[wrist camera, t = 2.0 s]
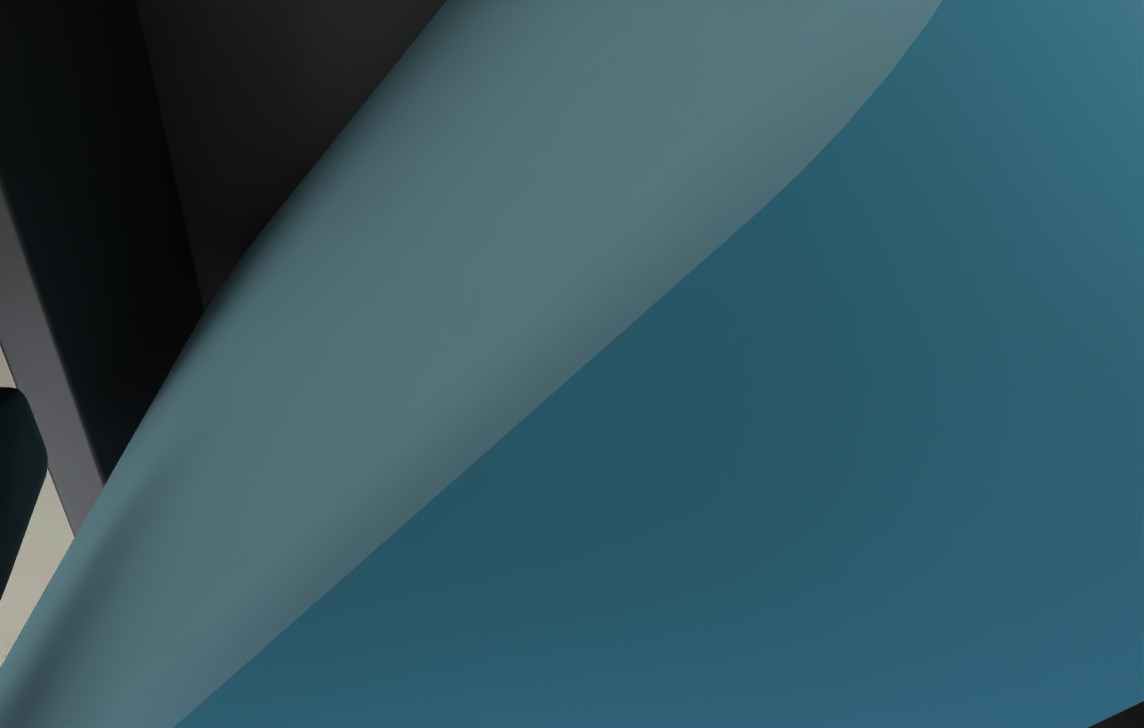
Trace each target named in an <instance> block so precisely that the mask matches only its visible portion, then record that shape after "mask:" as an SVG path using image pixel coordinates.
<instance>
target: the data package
mask: <svg viewBox="0 0 1144 728" xmlns="http://www.w3.org/2000/svg"><path fill="white" fill-rule="evenodd" d="M1143 701H1144V0H447V1H446V2H445V3H444V4H443V6H442V7H441V8H440V9H439V10H438V12H437V13H436V14H435V15H434V17H433V18H432V19H431V20H430V22H429V23H428V24H427V25H426V27H425V28H424V29H423V30H422V32H421V33H420V34H419V35H418V37H417V38H416V39H415V40H414V42H413V43H412V44H411V45H410V47H409V48H408V49H407V50H406V52H405V53H404V54H403V55H402V57H401V58H400V59H399V60H398V62H397V63H396V64H395V65H394V67H393V68H392V69H391V70H390V71H389V73H388V74H387V75H386V76H385V78H384V79H383V80H382V81H381V83H380V84H379V85H378V86H377V88H376V89H375V90H374V91H373V93H372V94H371V95H370V96H369V98H368V99H367V100H366V101H365V103H364V104H363V105H362V106H361V108H360V109H359V110H358V111H357V113H356V114H355V115H354V116H353V118H352V119H351V120H350V121H349V123H348V124H347V125H346V126H345V128H344V129H343V130H342V131H341V132H340V134H339V135H338V136H337V137H336V139H335V140H334V141H333V142H332V144H331V145H330V146H329V147H328V149H327V150H326V151H325V152H324V154H323V155H322V156H321V157H320V159H319V160H318V161H317V162H316V164H315V165H314V166H313V167H312V169H311V170H310V171H309V172H308V174H307V175H306V176H305V177H304V179H303V180H302V181H301V182H300V184H299V185H298V186H297V187H296V189H295V190H294V191H293V192H292V193H291V195H290V196H289V197H288V198H287V200H286V201H285V202H284V203H283V205H282V206H281V207H280V208H279V210H278V211H277V212H276V213H275V215H274V216H273V217H272V218H271V220H270V221H269V222H268V223H267V225H266V226H265V227H264V228H263V230H262V231H261V232H260V233H259V235H258V236H257V237H256V239H255V240H254V241H253V242H252V244H251V245H250V246H249V248H248V249H247V250H246V252H245V253H244V254H243V256H242V257H241V259H240V260H239V261H238V263H237V264H236V265H235V267H234V268H233V270H232V271H231V272H230V274H229V275H228V277H227V278H226V280H225V281H224V282H223V284H222V285H221V287H220V288H219V290H218V291H217V293H216V294H215V296H214V297H213V299H212V300H211V302H210V303H209V305H208V307H207V308H206V310H205V311H204V313H203V315H202V316H201V318H200V320H199V321H198V323H197V325H196V327H195V328H194V330H193V332H192V334H191V335H190V337H189V339H188V341H187V342H186V344H185V346H184V348H183V349H182V351H181V353H180V355H179V356H178V358H177V360H176V362H175V363H174V365H173V367H172V369H171V370H170V372H169V374H168V376H167V377H166V379H165V381H164V383H163V384H162V386H161V388H160V390H159V391H158V393H157V395H156V397H155V398H154V400H153V402H152V404H151V405H150V407H149V409H148V411H147V412H146V414H145V416H144V418H143V419H142V421H141V423H140V425H139V426H138V428H137V430H136V432H135V433H134V435H133V437H132V439H131V440H130V442H129V444H128V446H127V447H126V449H125V451H124V453H123V454H122V456H121V458H120V460H119V461H118V463H117V465H116V467H115V468H114V470H113V472H112V474H111V475H110V477H109V479H108V481H107V482H106V484H105V486H104V488H103V489H102V491H101V493H100V495H99V496H98V498H97V500H96V502H95V503H94V505H93V507H92V509H91V510H90V512H89V514H88V516H87V517H86V519H85V521H84V523H83V524H82V526H81V528H80V530H79V531H78V533H77V535H76V537H75V538H74V540H73V542H72V544H71V545H70V547H69V549H68V551H67V552H66V554H65V556H64V558H63V559H62V561H61V563H60V565H59V566H58V568H57V570H56V572H55V573H54V575H53V577H52V579H51V580H50V582H49V584H48V586H47V587H46V589H45V591H44V593H43V594H42V596H41V598H40V600H39V601H38V603H37V605H36V607H35V608H34V610H33V612H32V614H31V615H30V617H29V619H28V621H27V622H26V624H25V626H24V628H23V629H22V631H21V633H20V635H19V636H18V638H17V640H16V642H15V643H14V645H13V647H12V649H11V650H10V652H9V654H8V656H7V657H6V659H5V661H4V663H3V664H2V666H1V668H0V728H1088V727H1090V726H1092V725H1094V724H1096V723H1099V722H1101V721H1103V720H1105V719H1107V718H1109V717H1111V716H1113V715H1115V714H1118V713H1120V712H1122V711H1124V710H1126V709H1128V708H1130V707H1132V706H1134V705H1136V704H1139V703H1141V702H1143Z"/></svg>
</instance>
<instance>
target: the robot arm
mask: <svg viewBox="0 0 1144 728" xmlns="http://www.w3.org/2000/svg"><path fill="white" fill-rule="evenodd" d="M47 467H48V456H47V450H46V447H45V444H44V441H43V439H42V436H41V434H40V431H39V428H38V426H37V423H36V420H35V418H34V415H33V413H32V410H31V407H30V405H29V402H28V400H27V398H26V396H25V395H24V394H23V393H22V392H21V391H20V390H18V389H15V388H10V387H0V600H1V598H2V595H3V593H4V590H5V588H6V585H7V582H8V580H9V577H10V574H11V571H12V568H13V566H14V563H15V560H16V557H17V554H18V552H19V549H20V546H21V543H22V541H23V538H24V535H25V532H26V529H27V527H28V524H29V521H30V518H31V515H32V513H33V510H34V507H35V504H36V502H37V499H38V496H39V493H40V490H41V488H42V485H43V482H44V479H45V476H46V473H47ZM1088 728H1144V701H1143V702H1141V703H1139V704H1136V705H1134V706H1132V707H1130V708H1128V709H1126V710H1124V711H1122V712H1120V713H1118V714H1115V715H1113V716H1111V717H1109V718H1107V719H1105V720H1103V721H1101V722H1099V723H1096V724H1094V725H1092V726H1090V727H1088Z"/></svg>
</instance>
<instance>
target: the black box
mask: <svg viewBox="0 0 1144 728" xmlns="http://www.w3.org/2000/svg"><path fill="white" fill-rule="evenodd" d="M446 1H447V0H0V345H1V348H2V351H3V353H4V356H5V358H6V361H7V364H8V366H9V369H10V371H11V374H12V376H13V379H14V382H15V384H16V387H17V389H18V390H20V391H21V392H22V393H23V394H24V395H25V396H26V398H27V400H28V402H29V405H30V407H31V410H32V413H33V415H34V418H35V420H36V423H37V426H38V428H39V431H40V434H41V436H42V439H43V441H44V444H45V447H46V450H47V456H48V470H49V472H50V475H51V477H52V480H53V483H54V485H55V488H56V490H57V493H58V495H59V498H60V501H61V503H62V506H63V508H64V511H65V514H66V516H67V519H68V521H69V524H70V527H71V529H72V532H73V534H74V537H76V535H77V533H78V531H79V530H80V528H81V526H82V524H83V523H84V521H85V519H86V517H87V516H88V514H89V512H90V510H91V509H92V507H93V505H94V503H95V502H96V500H97V498H98V496H99V495H100V493H101V491H102V489H103V488H104V486H105V484H106V482H107V481H108V479H109V477H110V475H111V474H112V472H113V470H114V468H115V467H116V465H117V463H118V461H119V460H120V458H121V456H122V454H123V453H124V451H125V449H126V447H127V446H128V444H129V442H130V440H131V439H132V437H133V435H134V433H135V432H136V430H137V428H138V426H139V425H140V423H141V421H142V419H143V418H144V416H145V414H146V412H147V411H148V409H149V407H150V405H151V404H152V402H153V400H154V398H155V397H156V395H157V393H158V391H159V390H160V388H161V386H162V384H163V383H164V381H165V379H166V377H167V376H168V374H169V372H170V370H171V369H172V367H173V365H174V363H175V362H176V360H177V358H178V356H179V355H180V353H181V351H182V349H183V348H184V346H185V344H186V342H187V341H188V339H189V337H190V335H191V334H192V332H193V330H194V328H195V327H196V325H197V323H198V321H199V320H200V318H201V316H202V315H203V313H204V311H205V310H206V308H207V307H208V305H209V303H210V302H211V300H212V299H213V297H214V296H215V294H216V293H217V291H218V290H219V288H220V287H221V285H222V284H223V282H224V281H225V280H226V278H227V277H228V275H229V274H230V272H231V271H232V270H233V268H234V267H235V265H236V264H237V263H238V261H239V260H240V259H241V257H242V256H243V254H244V253H245V252H246V250H247V249H248V248H249V246H250V245H251V244H252V242H253V241H254V240H255V239H256V237H257V236H258V235H259V233H260V232H261V231H262V230H263V228H264V227H265V226H266V225H267V223H268V222H269V221H270V220H271V218H272V217H273V216H274V215H275V213H276V212H277V211H278V210H279V208H280V207H281V206H282V205H283V203H284V202H285V201H286V200H287V198H288V197H289V196H290V195H291V193H292V192H293V191H294V190H295V189H296V187H297V186H298V185H299V184H300V182H301V181H302V180H303V179H304V177H305V176H306V175H307V174H308V172H309V171H310V170H311V169H312V167H313V166H314V165H315V164H316V162H317V161H318V160H319V159H320V157H321V156H322V155H323V154H324V152H325V151H326V150H327V149H328V147H329V146H330V145H331V144H332V142H333V141H334V140H335V139H336V137H337V136H338V135H339V134H340V132H341V131H342V130H343V129H344V128H345V126H346V125H347V124H348V123H349V121H350V120H351V119H352V118H353V116H354V115H355V114H356V113H357V111H358V110H359V109H360V108H361V106H362V105H363V104H364V103H365V101H366V100H367V99H368V98H369V96H370V95H371V94H372V93H373V91H374V90H375V89H376V88H377V86H378V85H379V84H380V83H381V81H382V80H383V79H384V78H385V76H386V75H387V74H388V73H389V71H390V70H391V69H392V68H393V67H394V65H395V64H396V63H397V62H398V60H399V59H400V58H401V57H402V55H403V54H404V53H405V52H406V50H407V49H408V48H409V47H410V45H411V44H412V43H413V42H414V40H415V39H416V38H417V37H418V35H419V34H420V33H421V32H422V30H423V29H424V28H425V27H426V25H427V24H428V23H429V22H430V20H431V19H432V18H433V17H434V15H435V14H436V13H437V12H438V10H439V9H440V8H441V7H442V6H443V4H444V3H445V2H446Z"/></svg>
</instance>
